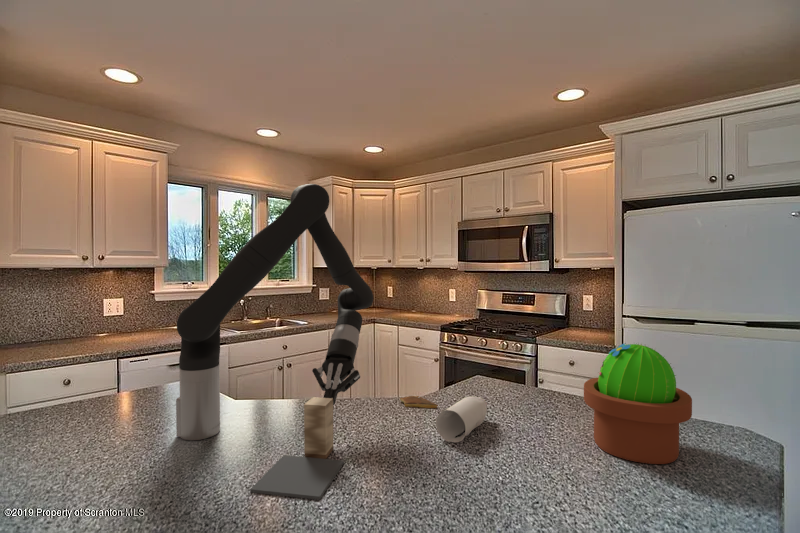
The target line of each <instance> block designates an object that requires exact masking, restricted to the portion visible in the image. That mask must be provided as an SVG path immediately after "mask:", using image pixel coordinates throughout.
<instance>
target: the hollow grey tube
mask: <svg viewBox="0 0 800 533" xmlns="http://www.w3.org/2000/svg"><path fill="white" fill-rule="evenodd" d="M487 408H488V403H487V401H486V400H485V399H484V398H482V397H481V396H478V397H477V396H466V397H464V398H462V399H460V400H459V401H457V402H455V403H454V404H452V405H451V406H449V407H448V408H446V409H443V410H442V411H440V412H438V414H437V417H435V422H434V423H435V425H436V426H435V427H436V430H437V432H438V434H439V435H440V436H441V438H442V440H444V441H446V442H452V443H453V444H454V443H455V444H456V443H459V442H462V441H463V440H464V439H465V437H467V436H469V435H470V434H471V432H472V431H473V430H475V428H478V427H479V426H481V424H483V422H485V420H486V419H485V418H486V416H487V414H488V413H487V412H488V410H487ZM464 431H465V432H464ZM463 432H464V433H463ZM462 433H463V434H462ZM458 435H460V436H458ZM456 436H457V437H456Z"/></svg>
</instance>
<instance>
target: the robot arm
mask: <svg viewBox="0 0 800 533" xmlns="http://www.w3.org/2000/svg"><path fill="white" fill-rule="evenodd" d="M329 205H330V195H329V192H328V190H327V189H326V188H324V187H323V186H322V185H319V184H316V183H306V184H301V185H298V186H297V187H296V188H294V189H293V191H292V193H291V195H290V202H289V204H288V206H287V207H286V208H285V209H284V211H283V212H282V213H281V214H280V215H279V216H278V217H277V218H276V219H274V220H273V221H272V222H271V223H269V224H268V225H267V226H266V227H264V228H263V229H261V230H259V232H257V233H256V234H255V235H253V237H251V238H250V240H247V242H246V243H245V244H244V245H243V246H242V247H241V248H240V249H239V251H238V252H237V253H236V254H235V255H234V256H233V258H232V259H230V261H229V262H228V264H227V265H226V266H225V267H224V269H223V270H222V272H220V274H219V276H218V277H217V279H216V280H214V282H213V283H212V285H210V286H209V288H208V289H206V290H205V292H203V293H202V294H201V295H200V296H199V297H198V298H197V299H195V301H193V302H192V303H191V304H189V305H188V306H186V308H184V309H182V311H181V312H180V313H179V315H178V317H177V320H176V330H177V334H178V335H179V336H180V338H181V340H180V341H181V345H180V354H179V361H178V364H179V366H178V367H179V368H178V369H179V372H178V374H179V376H178V377H179V396H178V397H177V398H176V400H175V415H176V416H175V417H176V418H175V422H176V424H175V426H176V431H175V432H176V433H175V434H176V437H179V438H181V439H182V440H184V441H199V440H204V439H207V438H208V439H209V438H211V437H214V436H216V435H217V434H218V433H219V432H220V431H221V394H220V393H221V392H220V388H221V387H220V386H221V384H220V380H221V379H220V357H221V356H220V355H221V323H222V322H223V320H224V319H225V317H226V316H227V315H228V314H229V313H230V311H231V310H232V309H233V307H234V306H235V305H236V304H237V303H238V302H239V301H240V300H241V299H242V298H244V296H246V295H247V294H249V293H250V292H251V291H252V290H253V289H255V287H256V286H257V285H258V284H259V283H261V282H262V281H263V280H264V279H265V278H266V277H267V275H268V274H269V273H270V272H271V271H272V270H273V269H274V268H275V266H277V264H278V263H279V262H280V261H281V259H282V258H283V257H284V256H285V255H286V253H288V251H289V250H290V248H291V247H293V245H294V244H295V242H296V241H297V240H298V238H300V237H301V235H303V233H304V232H306V231H308V233H309V234H310V236H311V237H312V239H313V242H314V243H315V245H316V246H317V249H318V251H319V253H320V255H321V258H322V259H323V261H324V264H325V265H326V267H327V270H328V273H329V274H330V276H331V278H332V280H333V282H334V283H335V284H336V285H338V286H347V287H348V288H344V289H342V290H341V291H340V293H338V296H337V319H336V323H335V326H334V330H333V332H332V335H331V337H330V341H329V345H328V348H327V351H326V355H325V359H324V361H323V362H322V364H321V366H320V367H318V368H316V367H313V368H312V370H311V371H312V374H313V375H314V377H315V379H316V381H317V383H318V384H319V387H320V389H321V390H322V391H324V393H323V397H322V398H333V406H334V405H336V401H337V397H338V394H339V393H341V392H342V393H346V392H347V391H348V389H350V388H351V387H352V386H353V385H354V384H355V383H356V382H358V381H359V380H360V378H361V375H360V374H361V373H360V372H359V370H358V369H355V365H354V364H355V358H356V355H357V350H358V347H359V340H360V333H361V329H362V324H363V316H362V314H361V313H360V312H358V311H360V310H364V309H368V308H370V307H371V306H372V305H373V303H374V293H373V291H372V289H371V287H370V286H369V284H368V283H367V282H366V281H365V280H364V278H363V277H362V276H361V275H360V273H359V272H357V270H356V268H355V266H354V264H353V262H352V260H351V258H350V255H349V253H348V252H347V250H346V248H345V247H344V244H343V243H342V242H341V240H340V239H339V238H338V236H337V235H336V233H335V231H334V229H333V228H332V226H331V225H330V222H329V220H328V217H327V215H326V213H327V210H328V208H329V207H330V206H329ZM323 375H325V376H326V383H325V381H323V379H322V377H323Z"/></svg>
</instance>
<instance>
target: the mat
mask: <svg viewBox="0 0 800 533" xmlns="http://www.w3.org/2000/svg"><path fill="white" fill-rule="evenodd" d="M344 462H345V460H339V459H331V458H326V459H321V458H310V457H305V456H296V455H286V454H285V455H282V456H281V458H279V459H278V460H277V461H276V462H275V464H273V466H271V467H270V468H269V470H268V471H267V472H266V473H265V474H264V475H262V477H261V478H259V479H258V481H257V482H256V483H255V484H253V486H252V487H251V488H250V489H249V491H250V493H252V494H253V493H254V494H264V495H272V496H280V497H289V498H290V497H291V498H298V499H300V498H301V499H307V500H308V499H309V500H317V501H318V500H319V501H320V500H321V499H322V497H323V496H324V494H325V493H326V491H327V490H328V488H329V487H330V485H331V484H332V482H333V481H334V479H335V477H336V476H337V474H338V473H339V471H340V469H342V466H343V465H344Z"/></svg>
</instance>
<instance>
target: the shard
mask: <svg viewBox="0 0 800 533" xmlns="http://www.w3.org/2000/svg"><path fill="white" fill-rule="evenodd" d="M418 397H420V398H418ZM399 401H400V402H401V403H403V404H404V407H405V408H408V407H409V408H410V407H411V408H421V409H422V408H425V409H437V408H438V406H439V404H436V403H435V402H432V401H430V400H428V399H427V398H424V397H422V396H418V395H408V396H405V397H400V398H399Z"/></svg>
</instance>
